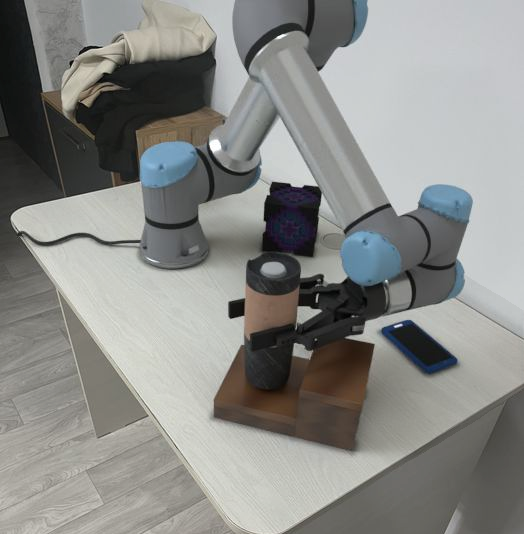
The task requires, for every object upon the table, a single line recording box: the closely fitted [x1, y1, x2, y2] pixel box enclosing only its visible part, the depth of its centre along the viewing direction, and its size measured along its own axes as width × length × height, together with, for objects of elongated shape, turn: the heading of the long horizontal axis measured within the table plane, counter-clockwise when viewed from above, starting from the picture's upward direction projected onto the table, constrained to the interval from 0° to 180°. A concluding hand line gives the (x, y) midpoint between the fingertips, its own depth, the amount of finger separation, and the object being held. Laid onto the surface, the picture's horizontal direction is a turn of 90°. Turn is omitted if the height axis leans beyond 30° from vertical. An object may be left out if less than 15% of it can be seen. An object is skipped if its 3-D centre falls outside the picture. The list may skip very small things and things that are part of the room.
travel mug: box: [243, 251, 302, 389], centre depth 79 cm, size 8×8×20 cm
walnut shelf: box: [213, 337, 376, 452], centre depth 85 cm, size 22×14×10 cm, turn 74°
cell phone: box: [380, 319, 458, 374], centre depth 100 cm, size 7×14×1 cm, turn 28°
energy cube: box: [261, 181, 323, 258], centre depth 126 cm, size 12×12×12 cm
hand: (239, 326), depth 77 cm, fingers closed on travel mug, 7 cm apart
